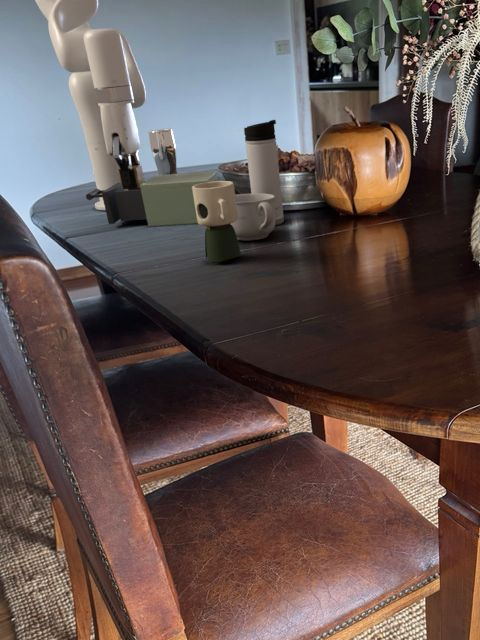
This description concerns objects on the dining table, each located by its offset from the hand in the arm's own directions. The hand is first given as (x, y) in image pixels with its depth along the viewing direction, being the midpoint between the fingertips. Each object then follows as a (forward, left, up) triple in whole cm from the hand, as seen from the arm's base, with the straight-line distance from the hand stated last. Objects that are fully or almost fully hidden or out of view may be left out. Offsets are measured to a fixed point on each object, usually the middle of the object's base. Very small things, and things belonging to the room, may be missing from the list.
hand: (133, 185), depth 147 cm
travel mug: (+31, +12, -8) cm, 34 cm away
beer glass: (-33, +32, -8) cm, 47 cm away
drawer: (-1, -1, -7) cm, 7 cm away
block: (0, 0, 0) cm, 0 cm away
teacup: (+38, +1, -8) cm, 39 cm away
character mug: (+44, -12, -8) cm, 47 cm away
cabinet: (+8, +7, -8) cm, 13 cm away
